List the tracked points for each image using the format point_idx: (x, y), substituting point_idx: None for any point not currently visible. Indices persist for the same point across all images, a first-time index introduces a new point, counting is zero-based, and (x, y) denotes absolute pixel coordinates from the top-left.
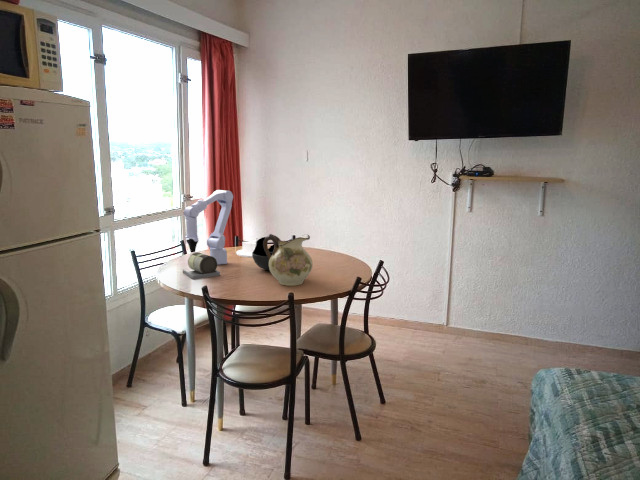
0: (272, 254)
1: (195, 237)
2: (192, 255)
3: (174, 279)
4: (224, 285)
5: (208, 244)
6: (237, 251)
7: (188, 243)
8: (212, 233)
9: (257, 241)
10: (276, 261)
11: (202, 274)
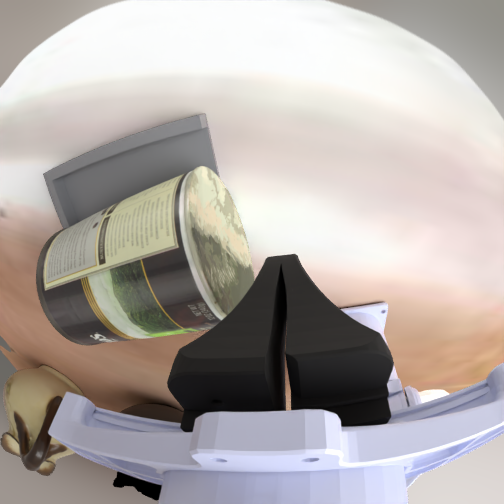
0: (24, 417)
1: (109, 464)
2: (161, 241)
3: (72, 72)
4: (9, 266)
5: (400, 403)
6: (440, 395)
7: (303, 320)
8: (409, 479)
9: (131, 481)
10: (4, 394)
11: (63, 224)
